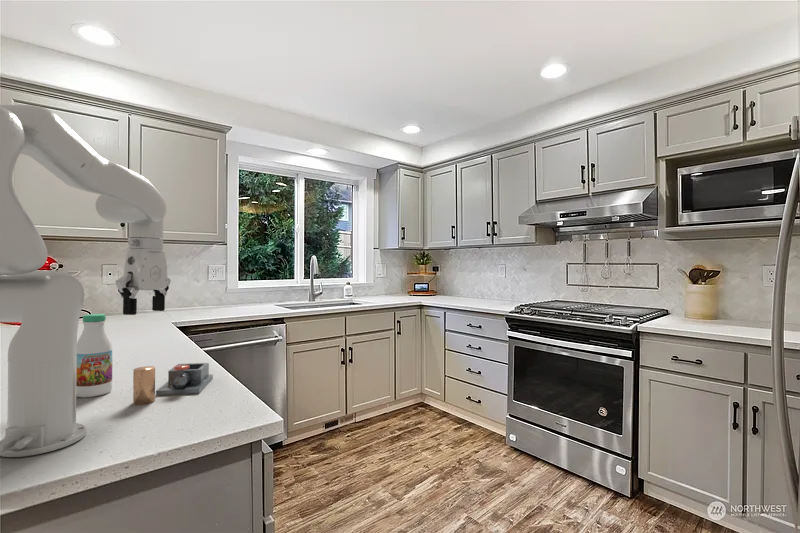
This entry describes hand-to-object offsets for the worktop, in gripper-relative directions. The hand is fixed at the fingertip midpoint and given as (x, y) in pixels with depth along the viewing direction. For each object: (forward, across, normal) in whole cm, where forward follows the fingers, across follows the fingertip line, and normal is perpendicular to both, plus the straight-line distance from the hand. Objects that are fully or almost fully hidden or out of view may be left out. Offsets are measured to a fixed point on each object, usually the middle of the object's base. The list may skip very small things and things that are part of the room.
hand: (144, 312), depth 104 cm
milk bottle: (+21, -2, +12) cm, 24 cm away
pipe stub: (+21, -6, -5) cm, 22 cm away
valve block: (+20, +7, -7) cm, 23 cm away
